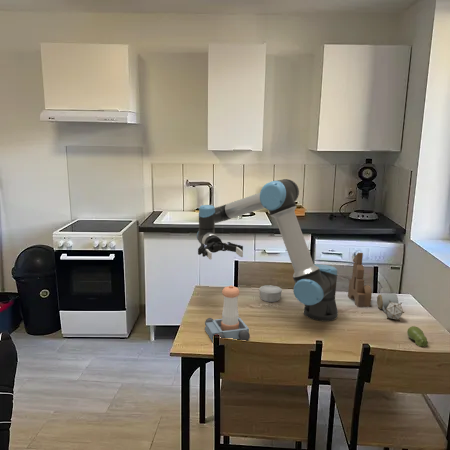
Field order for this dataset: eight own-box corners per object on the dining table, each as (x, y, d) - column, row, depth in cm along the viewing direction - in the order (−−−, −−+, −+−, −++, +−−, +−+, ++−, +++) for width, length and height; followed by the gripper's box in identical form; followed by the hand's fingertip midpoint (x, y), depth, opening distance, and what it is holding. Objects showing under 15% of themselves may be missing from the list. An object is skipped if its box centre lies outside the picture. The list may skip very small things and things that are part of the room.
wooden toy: (371, 307, 207) (376, 256, 202) (357, 307, 207) (362, 256, 202) (359, 295, 222) (363, 248, 217) (346, 295, 222) (350, 248, 217)
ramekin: (279, 294, 220) (279, 285, 219) (283, 303, 209) (283, 293, 208) (257, 294, 220) (257, 284, 219) (260, 303, 209) (260, 292, 208)
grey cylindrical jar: (375, 305, 209) (377, 290, 208) (392, 306, 209) (394, 291, 207) (382, 315, 199) (384, 299, 197) (400, 315, 199) (402, 299, 197)
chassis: (237, 323, 186) (237, 314, 185) (250, 340, 171) (251, 331, 170) (203, 327, 181) (203, 318, 180) (214, 345, 166) (214, 335, 165)
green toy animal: (418, 323, 177) (433, 338, 168) (415, 334, 179) (429, 349, 170) (406, 324, 176) (420, 339, 167) (403, 334, 178) (416, 350, 169)
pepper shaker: (218, 332, 174) (219, 287, 170) (224, 325, 181) (225, 281, 177) (235, 335, 172) (236, 289, 168) (241, 328, 179) (242, 284, 175)
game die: (395, 325, 196) (410, 309, 195) (395, 326, 188) (410, 309, 187) (379, 312, 200) (393, 295, 199) (378, 312, 192) (393, 295, 191)
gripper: (237, 249, 204) (254, 261, 184) (185, 252, 196) (197, 266, 176) (237, 233, 202) (254, 244, 182) (185, 236, 194) (197, 248, 175)
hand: (226, 255), depth 179 cm, fingers open, 13 cm apart
